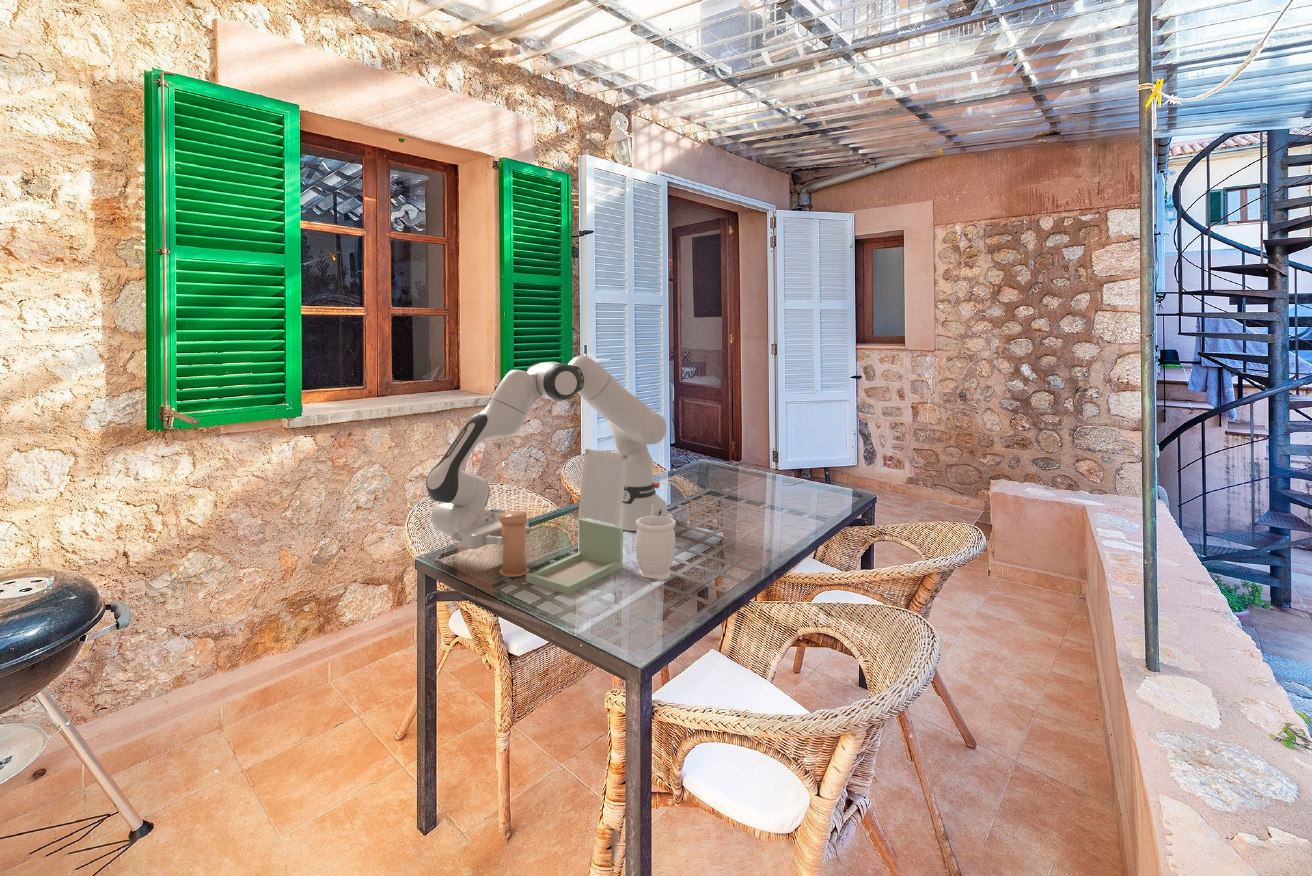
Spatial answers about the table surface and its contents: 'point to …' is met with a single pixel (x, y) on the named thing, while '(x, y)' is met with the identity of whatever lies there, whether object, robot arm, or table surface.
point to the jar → (655, 546)
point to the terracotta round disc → (513, 574)
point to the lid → (602, 486)
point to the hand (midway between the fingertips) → (516, 536)
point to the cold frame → (584, 559)
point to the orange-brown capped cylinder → (514, 541)
